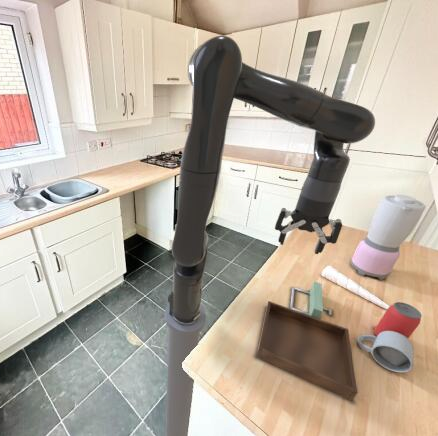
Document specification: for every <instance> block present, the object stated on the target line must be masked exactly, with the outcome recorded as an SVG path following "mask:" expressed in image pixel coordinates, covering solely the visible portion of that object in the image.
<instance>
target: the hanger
mask: <svg viewBox="0 0 438 436" xmlns="http://www.w3.org/2000/svg"><path fill="white" fill-rule="evenodd" d="M295 291H298V292H301V293H304V294H307V295H309V309H308V310H309V312H306V311H303V310H300V309H297V308H294V302H295V301H294V300H295ZM323 303H324V301H323V284H322V283H321V282H317V281H313V282H312V285H311V287H310V290H309V291H307V290H304V289H301V288H298V287H295V286H294V287H292V288H291V296H290V306H289V308H290V309H293V310H295V311H298V312H301V313H304V314H307V315H310V316H312V317H315V318H318V319H321V316H322V314H323V313H324V311H325V312H326V311H327V312H328V315H329V316H332V313H333V311H332V309H331V308H328V307H325V306H324V304H323Z"/></svg>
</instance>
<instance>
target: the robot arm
mask: <svg viewBox="0 0 438 436" xmlns="http://www.w3.org/2000/svg"><path fill="white" fill-rule="evenodd" d="M186 72H187V77H188V78H187V79H188V81H189V83H190V85H191V86H192V109H191V120H190V125H189V130H188V133H187V137H186V140H185V142H184V146H183V149H182V154H181V160H180V167H179V178H178V180H179V181H178V194H177V195H178V196H177V219H176V225H175V231H174V235H173V239H172V243H171V253H172V257H173V259H174V262H173V267H172V288H171V289H172V290H171V292H170V293H169V295H168V296H167V303H168V304H169V303H170V305H169V315H171V316H172V317H173V319H174V320H175V321H176V322H177V323H179V324H181V325H192V324H194V323H196V322H197V321H198V319H199V316H200V305H201V303H202V294H203V285H204V278H205V277H204V275H205V270H206V267H207V259H208V258H207V257H208V250H209V240H210V239H209V234H208V233H207V231H206V229H207V223H208V219H209V216H210V213H211V211H212V207H213V204H214V201H215V198H216V195H217V192H218V191H217V190H218V188H219V187H218V186H219V182H220V175H221V169H222V164H223V157H224V151H225V145H226V135H227V128H228V123H229V118H230V113H231V110H232V105H233V103H234V99H235V100H238V101H241V102H243V103H246V104H248V105H251V106H253V107H255V108H258V109H260V110H262V111H264V112H266V113H268V114H270V115H272V116H274V117H276V118H279V119H281V120H283V121H285V122H288V123H290V124H293V125H296V126H298V127H301V128H305V129H309V130H313V131H314V141H313V159H312V160H311V164H310V167H309V170H308V173H307V176H306V178H305V179H304V182H303V185H302V186H301V189H300V193H299V196H298V199H297V201H296V206H295V208H294V210H293V211H292V210H287V209H286V208H285V207H282V208H281V209H280V211H279V215H278V217H277V220H276V222H275V225H274V229H275V231H279V237H278V243H280V244H279V245H281V246H283V245H284V243H285V239H286V236H287V233H289V232H291V231H294V230H295V229H298V230H299V231H306V232H309V233H314V232H315V234H316V236H317V237H318V241H317V243H316V245H315V248H314V254H316V255H319V254H321V253H322V252H323V251H324V249H325V246H326V244H332V245H333V244H334V245H335V244H337V242H338V239H339V236H340V234H341V231H342V228H343V222H342V220H341V219H340V218H337V219H330V215H331V213H332V210H333V207H334V206H335V203H336V200H337V199H338V196H339V193H340V191H341V188H342V187H341V186H342V183H343V181H344V178H345V175H346V173H347V171H348V168H349V165H350V161H351V158H350V156H349V155H348V153H346V152H345V150H344V144H347V145H349V144H356V143H360V142H361V141H363V140H365V139H367V138H368V137H369V136H370V135H371V134H372V133H373V131H374V129H375V127H376V118H375V115H374V113H373V112H372V111H371V110H369V109H368V108H366V107H364V106H362V105H359V104H357V103H353V102H350V101H346V100H343V99H339V98H335V97H332V96H330V95H328V94H326V93H324V92H322V91H320V90H318V89H316V88H313V87H311V86H310V85H307V84H304V83H302V82H299V81H296V80H292V79H289V78H286V77H282V76H279V75H274V74H272V73H269V72H265V71H262V70H259V69H257V68H255V67H252V66H250V65H248V64H246V63H244V61H243V56H242V52H241V49H240V46H239V44H238V43H237V41H235V40H234V39H233V38H232V37H230V36H227V35H217V36H213V37H211V38H209V39H207V40H206V41H204V42H203V43H201V44H200V45H199V46H197V48H196V49H195V50H194V51H193V52H192V54H191V55H190V58H189V60H188V62H187V71H186ZM289 217H291V220H290V221H289V222H288V223H286V224H285V225H282V224H283V222H284V219H287V218H289ZM327 226H330V228H331V232H330V234H329V235H327V234H326V233H325V231H324V229H323V228H325V227H327Z"/></svg>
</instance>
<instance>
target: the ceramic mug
mask: <svg viewBox="0 0 438 436" xmlns="http://www.w3.org/2000/svg"><path fill="white" fill-rule="evenodd" d="M356 341H357V345H358V346H359V348H361V350H363V351H365V352H368V353H370V354H371V356H372V358H373V360H374V361H376V363H378V364H379V365H380V366H382V367H383V368H385V369H386V370H389V371H391V372H394V373H408V372H410V371H411V370H412V369H413V367H414V355H415V348H414V345H413V342H412V341H411V340H410V338H407V337H405V336H404V335H402V334H400V333H398V332H395V331H383V332H381V333H380V334H379V335H378V336H377V335H376V336H375V335H372V334H363V335H360V336H358V337H357V340H356ZM364 341H374V342H373V345H372V347H371V346H368V345H365V344H364V343H363V342H364Z"/></svg>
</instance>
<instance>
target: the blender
mask: <svg viewBox="0 0 438 436" xmlns="http://www.w3.org/2000/svg"><path fill="white" fill-rule="evenodd" d="M426 207H427V206H426V204H425V203H424V202H422V201H420V200H418V199H416V198H415V197H413V196H410V195H407V194H406V195H405V194H396V195H385V196H384V197H382V199H381V201H380V203H379V205H378V206H377V207H376V210H375V212H374V214H373V216H372V219H371V221H370V225H369V229H368V233H367V236H366V237H365V238H363V239H362V240H361V241H360V242H359V243H358V245H357V247H356V249H355V251H354V253H353V256H352V257H351V259H350V262H349V263H350V264H351V266H352V267H353V268H354V269H355V270H357V274H359V275H361V276H362V277H364V276H365V275H366V276H370V277H375V278H377V279H378V280H382V281H383V280H385V279H386V278H387V277H389V276H390V274H391V271H392V270H393V268H394V267H395V265H396V263H397V261H398V260H399V258H400V255H401V253H400V247H401V246H402V244H403V243H404V242H405V241H406V240H407V238H408V237H409V236H410V235H411V234H412V233H413V231H414V230H415V228H416V227H417V225H418V223H419V221H420V219H421V218H422V215H423V213H424V211H425V209H426Z"/></svg>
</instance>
